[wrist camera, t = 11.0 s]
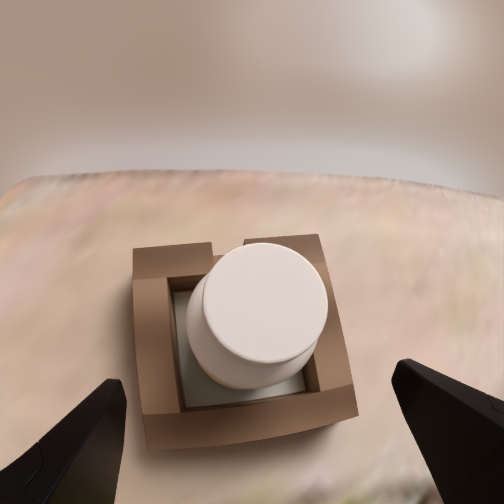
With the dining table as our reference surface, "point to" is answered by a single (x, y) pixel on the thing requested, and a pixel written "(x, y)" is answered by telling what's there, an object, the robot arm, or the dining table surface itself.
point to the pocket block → (205, 389)
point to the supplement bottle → (256, 316)
